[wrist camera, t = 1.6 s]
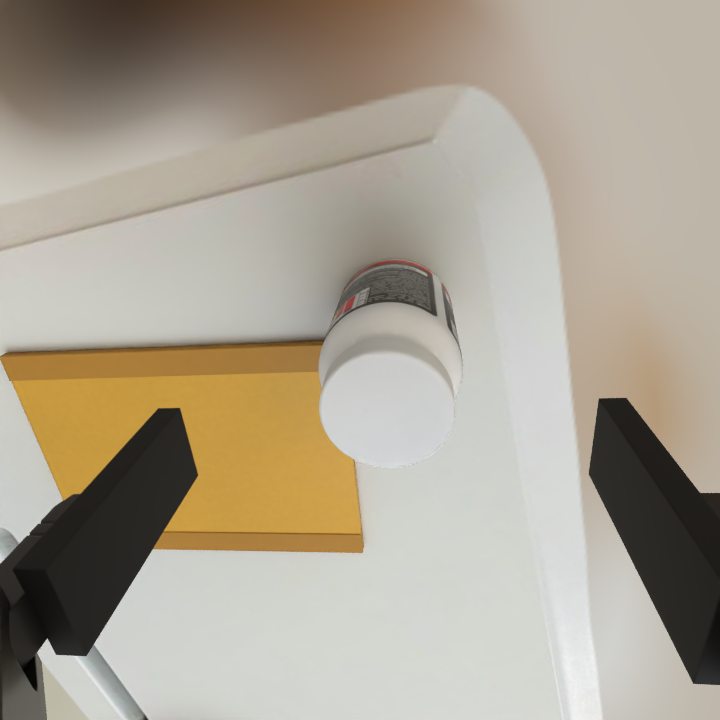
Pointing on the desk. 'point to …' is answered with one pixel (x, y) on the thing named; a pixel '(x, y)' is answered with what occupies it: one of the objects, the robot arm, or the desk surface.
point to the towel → (204, 437)
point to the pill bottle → (390, 366)
